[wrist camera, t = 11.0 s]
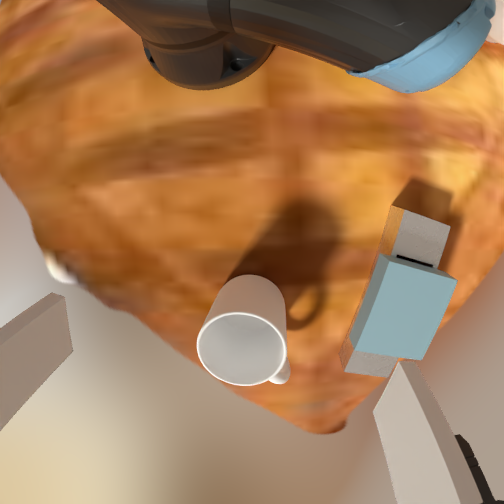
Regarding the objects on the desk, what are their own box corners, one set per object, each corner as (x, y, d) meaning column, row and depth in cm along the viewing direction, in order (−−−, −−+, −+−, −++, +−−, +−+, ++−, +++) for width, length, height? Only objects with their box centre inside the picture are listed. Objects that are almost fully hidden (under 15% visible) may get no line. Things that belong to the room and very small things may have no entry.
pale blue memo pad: (370, 244, 33) (389, 261, 26) (431, 262, 32) (457, 280, 26) (343, 321, 35) (354, 350, 29) (403, 333, 35) (421, 360, 29)
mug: (313, 334, 37) (323, 386, 27) (259, 364, 38) (253, 418, 29) (259, 259, 35) (252, 294, 25) (203, 295, 36) (178, 338, 27)
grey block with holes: (391, 205, 32) (404, 209, 28) (434, 220, 32) (450, 226, 28) (338, 353, 37) (343, 371, 33) (380, 360, 37) (388, 377, 33)
